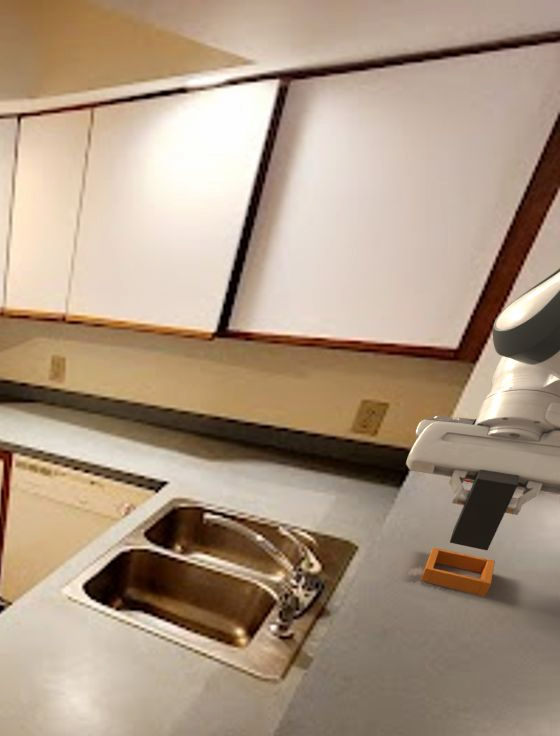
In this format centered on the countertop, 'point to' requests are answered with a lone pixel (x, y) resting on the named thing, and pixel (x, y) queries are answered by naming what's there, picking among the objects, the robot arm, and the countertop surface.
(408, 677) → the countertop surface
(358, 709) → the countertop surface
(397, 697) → the countertop surface
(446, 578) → the orange rectangular frame
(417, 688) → the countertop surface
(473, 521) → the black rectangular block
